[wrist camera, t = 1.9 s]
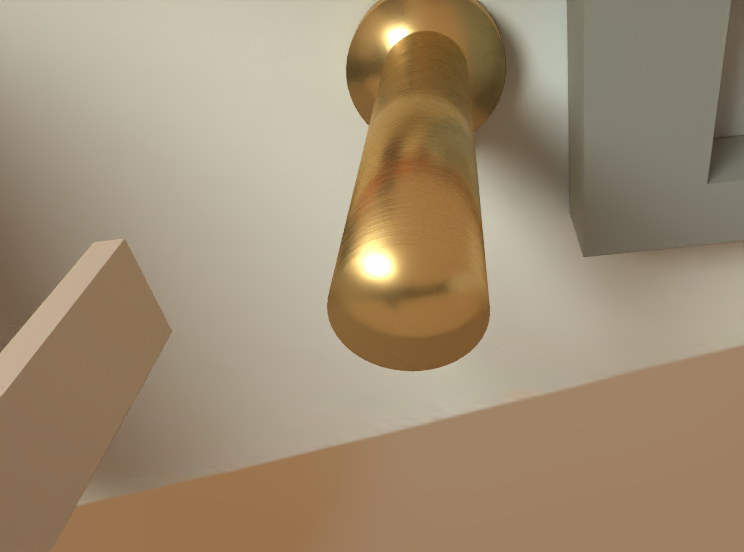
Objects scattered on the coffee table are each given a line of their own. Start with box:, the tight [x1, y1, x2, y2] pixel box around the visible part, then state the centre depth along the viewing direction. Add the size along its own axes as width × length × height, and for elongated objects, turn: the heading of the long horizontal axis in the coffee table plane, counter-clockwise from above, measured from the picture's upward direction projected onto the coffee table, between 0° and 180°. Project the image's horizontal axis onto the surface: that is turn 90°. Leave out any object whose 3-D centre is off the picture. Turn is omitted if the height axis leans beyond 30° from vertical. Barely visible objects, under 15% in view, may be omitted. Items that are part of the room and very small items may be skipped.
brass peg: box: [327, 0, 506, 371], centre depth 17 cm, size 6×6×14 cm
